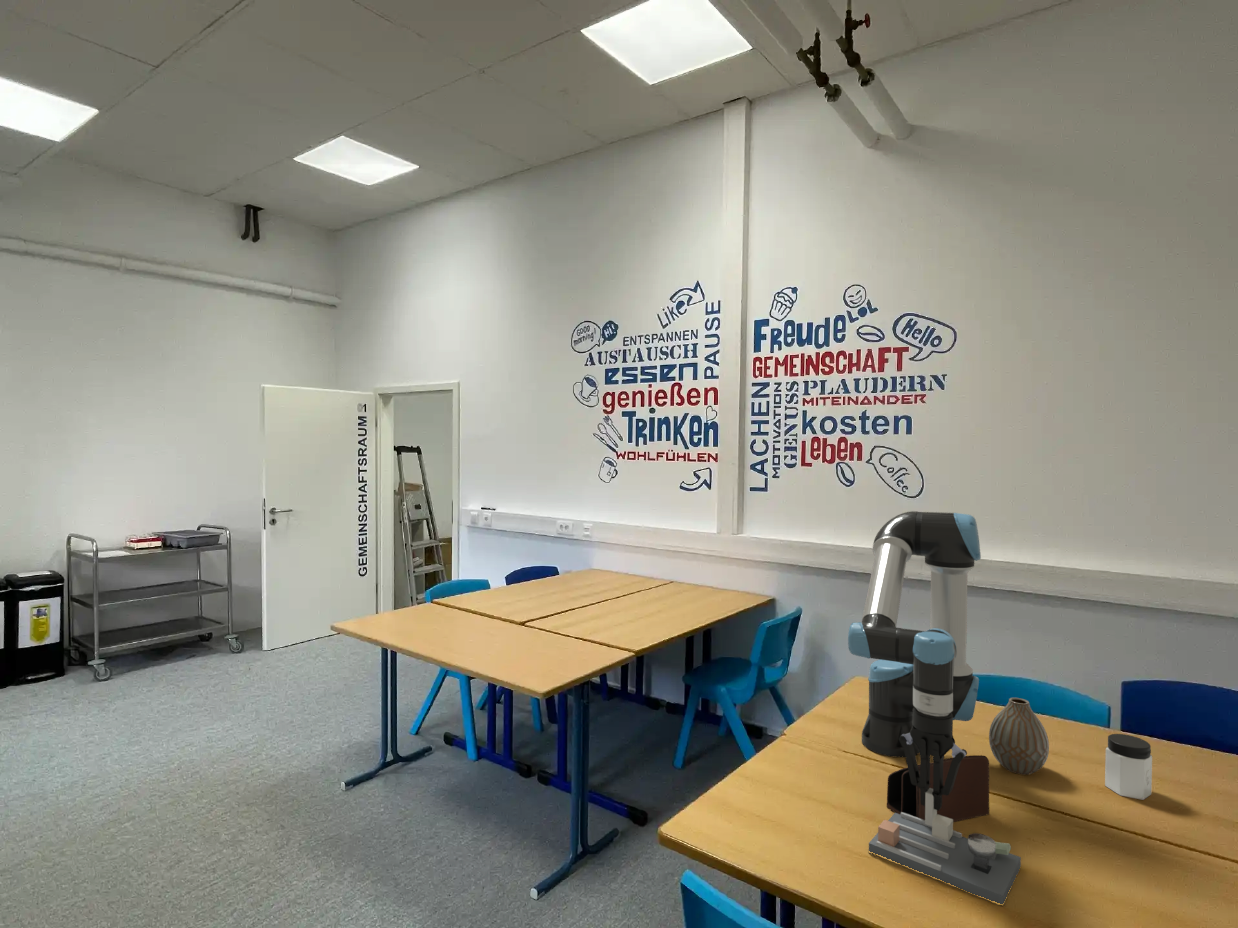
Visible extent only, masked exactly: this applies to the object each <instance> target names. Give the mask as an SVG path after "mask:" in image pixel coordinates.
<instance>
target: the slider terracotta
mask: <svg viewBox="0 0 1238 928" xmlns="http://www.w3.org/2000/svg"><path fill="white" fill-rule="evenodd" d="M877 828H878V829H877V833H878V841H879V842H882V843H885V844H887V845H890V846H892V847H895V845H896V844H897V843H898V842H899V833H900V825H898V824H896V823H893V822H890V821H888V820H887V819H883V820H882V822H881V823H880V824H879V825H878V827H877Z"/></svg>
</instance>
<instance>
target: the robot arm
mask: <svg viewBox="0 0 1238 928" xmlns="http://www.w3.org/2000/svg"><path fill="white" fill-rule="evenodd" d="M977 523H978V522H977V520H976V518H975V517H974V516H973V515H971V514H967V513H958V512H939V511H938V512H937V511H936V512H934V511H930V512H929V511H915V510H913V511H905V512H902V513H900V514H897V515H896V516H894V517H892V518H890V519H889V520H888V521H886V522H885V523H884V524H883V525H882V527H881V528H880V529H879V530H878V532H877V533H876V536H875V538H874V540H873V544H872V553H873V555H874V559H873V564H872V570H871V574H870V579H869V583H868V589H867V594H866V599H865V603H864V607H863V613H862V617H861V622H860V621H859V622H852V623H850V625H849V628H848V634H847V636H848V637H847V645H848V646H847V647H848V648H847V649H848V651H849V653H850V654H852V655H853V656H857V657H860V658H861V657H862V658H866V659H874V661H873V662H872V663H871V664H870V667H869V671H868V672H869V673H868V679H867V680H868V715H867V718H866V721H865V723H864V725H863V728H862V731H861V744H863V746H864V747H865V748H866V749H868V750H870V751H872V752H874V753H877V754H879V755H883V756H888V757H892V758H893V757H894V758H905V760H906V761H905V763H906V765H907V767H908V771H909V775H910V780H911V783H912V784H913V785H916V786H918V787H919V788H920V790H921V798H920V799H921V800H920V802H921V805H923V806H925V824H927V825H929V826H932V821H933V820H934V818H935V817H936V816H937V810H938V811H939V810H940V809H941V807H942V795H946V796H947V795H949V793H950V792H951V791H952V789H953V786H954V782H955V779H956V776H957V773H958V769H959V766H960V763H961V760H962V759H963V758H964V757H965V756H967V754H968V753H967V750H966V749H964V748H962V749H961V748H960V747H959V745H957V744H956V740H955V737H954V735H953V732H954V731H953V729H954V727H953V726H954V723H953V722H954V721H960V722H969V721H971V720H972V719H973V717H974V714H975V709H976V703H977V698H978V691H979V690H978V689H979V683H980V682H979V681H980V679H979V677H977V676H976V675H974V674H973V673H974V670H973V668H972V666H970V665H969V664H968V663H967V648H968V647H967V645H968V644H967V636H968V632H967V629H968V625H967V624H968V573H969V572H970V571H971V570H973V569H974V568H975V561H980V560H981V558H982V557H981V556H982V555H981V544H980V536H979V530H978V525H977ZM912 556H917V557H919V556H921V557H924V564H925V565H926V566H927V567H928V568H929V569H930V621H929V622H930V625H929V626H930V629H927V630H918V629H911V628H902V627H897V624H898V618H899V611H900V604H901V597H902V592H903V586H904V585H903V584H904V579H905V572H906V567H907V566H906V565H907V562H909V561H910V560H911V558H912ZM950 750H951V752H952V753H951V756H952V757H951V758H953V760H952V762H951V765H950V768H949V771H948V775H947V778H946V781H945V785H944V786H943V760H944V759H945V755H946V754H947V753H949V752H950ZM917 755H919V760H920V761H919V762H920V763H919V764H918V760H917V757H916V756H917ZM931 756H932V763H933V789H932V788H929V786H930V785H931V784H930V763H931ZM918 765H920V773H919V769H918Z"/></svg>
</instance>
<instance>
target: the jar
mask: <svg viewBox="0 0 1238 928" xmlns="http://www.w3.org/2000/svg"><path fill="white" fill-rule="evenodd" d="M1151 753H1152V749H1151V744H1150V743H1149V742H1148V741H1146V740H1144V739H1142V738H1139V737H1137V736H1133V735H1130V734H1124V733H1112V734H1108V736H1107V747H1106V748H1105V767H1104V768H1105V770H1104V771H1105V773H1104V785H1105V787H1107V788H1108V789H1110V790H1111V791H1113V792H1114V793H1116V794H1117V795H1118V796H1121V797H1126V798H1131V799H1136V800H1137V799H1138V800H1143V801H1144V800H1145V799H1147V798H1148V797H1149V796H1151V795H1152V784H1153V783H1152V780H1153V778H1152V777H1153V756H1152V754H1151Z"/></svg>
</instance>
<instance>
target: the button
mask: <svg viewBox="0 0 1238 928" xmlns="http://www.w3.org/2000/svg"><path fill="white" fill-rule="evenodd" d="M967 838H968V850H969V852H970V853H972V854H973V855H974V863H973V864H974V865H977V866H979V867H982V868H985V869H987V867H988V865H989V859H992V858H994V857H995V849H996V843H995V842H996V841H995V840H994V839H993V838H992V837H991V836H988V835H986V834H983V833H979V832H977V833H976V832H973V833H969V834H968V836H967Z"/></svg>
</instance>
